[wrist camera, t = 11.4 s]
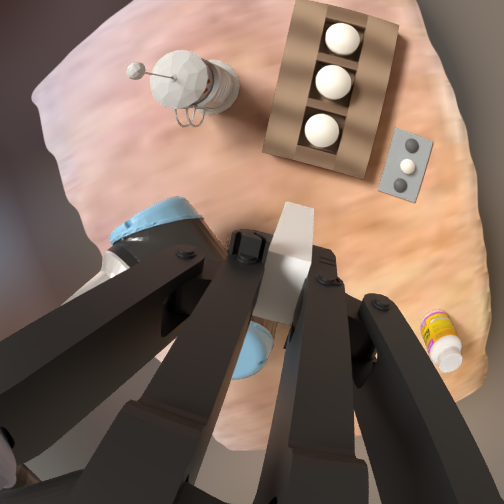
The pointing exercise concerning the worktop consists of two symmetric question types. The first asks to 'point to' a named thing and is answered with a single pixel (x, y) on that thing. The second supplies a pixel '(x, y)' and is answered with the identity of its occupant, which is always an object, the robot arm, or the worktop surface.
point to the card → (405, 165)
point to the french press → (190, 83)
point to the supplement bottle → (441, 340)
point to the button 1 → (321, 130)
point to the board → (312, 102)
